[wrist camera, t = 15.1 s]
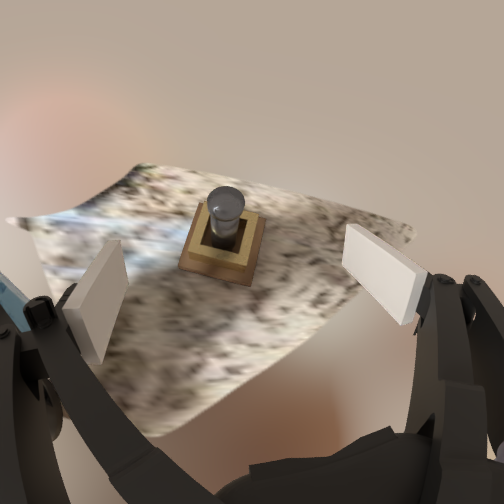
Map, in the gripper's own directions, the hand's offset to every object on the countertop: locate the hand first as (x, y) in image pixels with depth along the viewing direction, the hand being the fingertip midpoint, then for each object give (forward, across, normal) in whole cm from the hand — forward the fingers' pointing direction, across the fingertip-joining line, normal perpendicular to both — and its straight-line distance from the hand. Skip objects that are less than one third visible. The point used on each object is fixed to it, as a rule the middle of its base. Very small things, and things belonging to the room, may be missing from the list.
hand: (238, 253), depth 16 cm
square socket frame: (+29, +1, -11) cm, 31 cm away
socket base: (+30, +1, -12) cm, 33 cm away
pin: (+29, +1, -11) cm, 31 cm away
